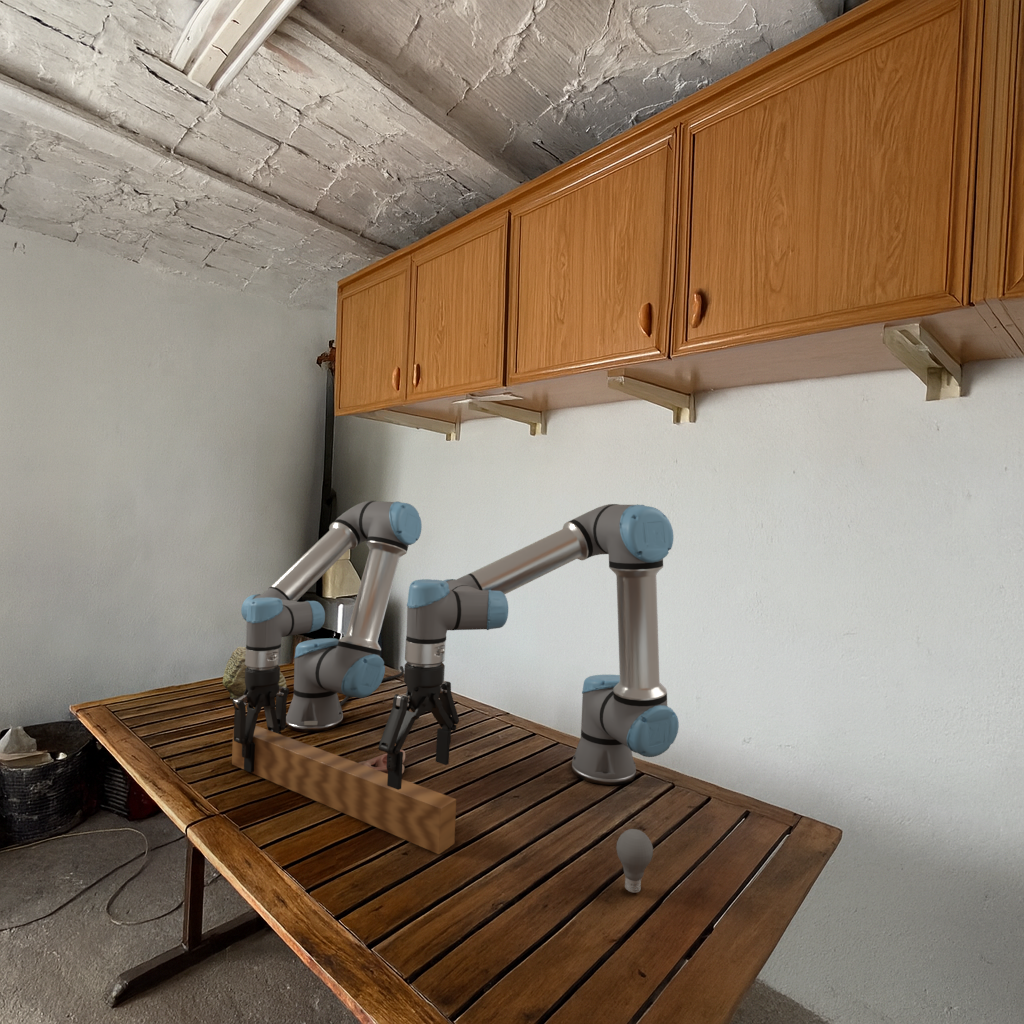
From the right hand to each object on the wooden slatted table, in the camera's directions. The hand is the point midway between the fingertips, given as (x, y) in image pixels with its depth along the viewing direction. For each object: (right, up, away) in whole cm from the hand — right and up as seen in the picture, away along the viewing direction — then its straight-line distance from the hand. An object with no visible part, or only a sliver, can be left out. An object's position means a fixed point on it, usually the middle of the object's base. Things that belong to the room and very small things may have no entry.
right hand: (419, 774), depth 119 cm
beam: (-21, -11, +13) cm, 27 cm away
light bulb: (+38, -14, -14) cm, 42 cm away
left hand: (-41, -9, +26) cm, 49 cm away
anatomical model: (-14, -11, +27) cm, 32 cm away
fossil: (-63, -8, +79) cm, 101 cm away
